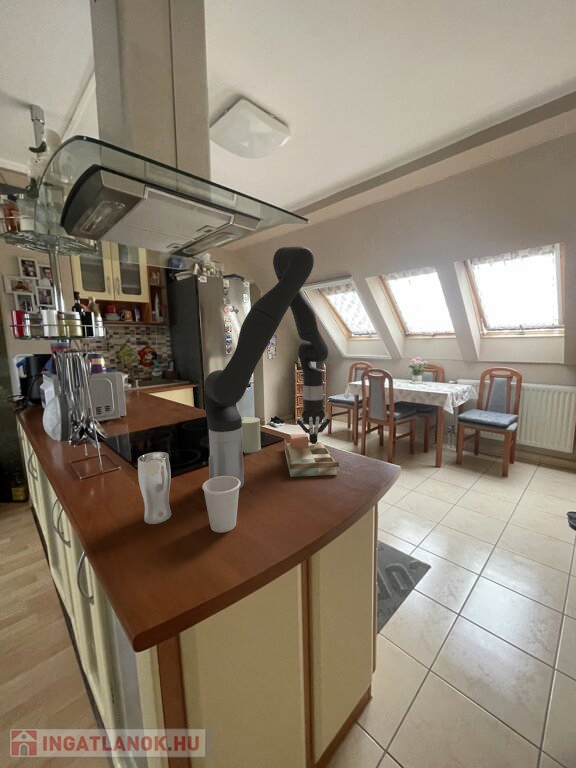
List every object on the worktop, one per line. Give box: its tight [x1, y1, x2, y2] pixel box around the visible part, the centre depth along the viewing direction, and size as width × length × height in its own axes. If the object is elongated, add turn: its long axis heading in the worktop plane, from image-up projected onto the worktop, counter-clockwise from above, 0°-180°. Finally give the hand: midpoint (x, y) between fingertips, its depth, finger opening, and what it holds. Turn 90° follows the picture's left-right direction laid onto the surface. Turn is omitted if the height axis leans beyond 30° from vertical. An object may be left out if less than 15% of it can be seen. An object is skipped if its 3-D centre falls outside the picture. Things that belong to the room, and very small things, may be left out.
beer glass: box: [137, 451, 172, 525], centre depth 75 cm, size 7×7×15 cm
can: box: [241, 416, 262, 454], centre depth 121 cm, size 9×9×12 cm
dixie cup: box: [201, 476, 241, 534], centre depth 71 cm, size 8×8×10 cm
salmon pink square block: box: [290, 433, 310, 449], centre depth 117 cm, size 6×6×4 cm
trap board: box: [283, 439, 340, 478], centre depth 109 cm, size 15×24×4 cm, turn 5°
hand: (313, 443), depth 117 cm, fingers closed
